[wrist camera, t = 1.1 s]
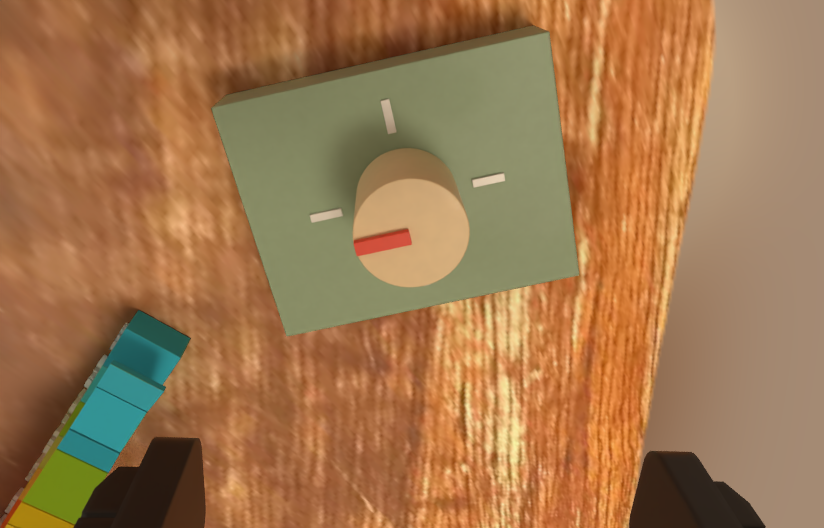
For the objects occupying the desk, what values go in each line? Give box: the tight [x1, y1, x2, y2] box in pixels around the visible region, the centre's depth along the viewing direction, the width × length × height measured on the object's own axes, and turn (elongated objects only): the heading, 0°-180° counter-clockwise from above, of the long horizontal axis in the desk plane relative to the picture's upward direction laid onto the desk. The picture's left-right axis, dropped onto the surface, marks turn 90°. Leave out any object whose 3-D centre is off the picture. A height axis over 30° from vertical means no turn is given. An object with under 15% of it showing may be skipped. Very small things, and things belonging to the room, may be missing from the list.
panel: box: [211, 26, 579, 336], centre depth 31 cm, size 14×11×3 cm
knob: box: [352, 148, 470, 287], centre depth 27 cm, size 4×4×5 cm
